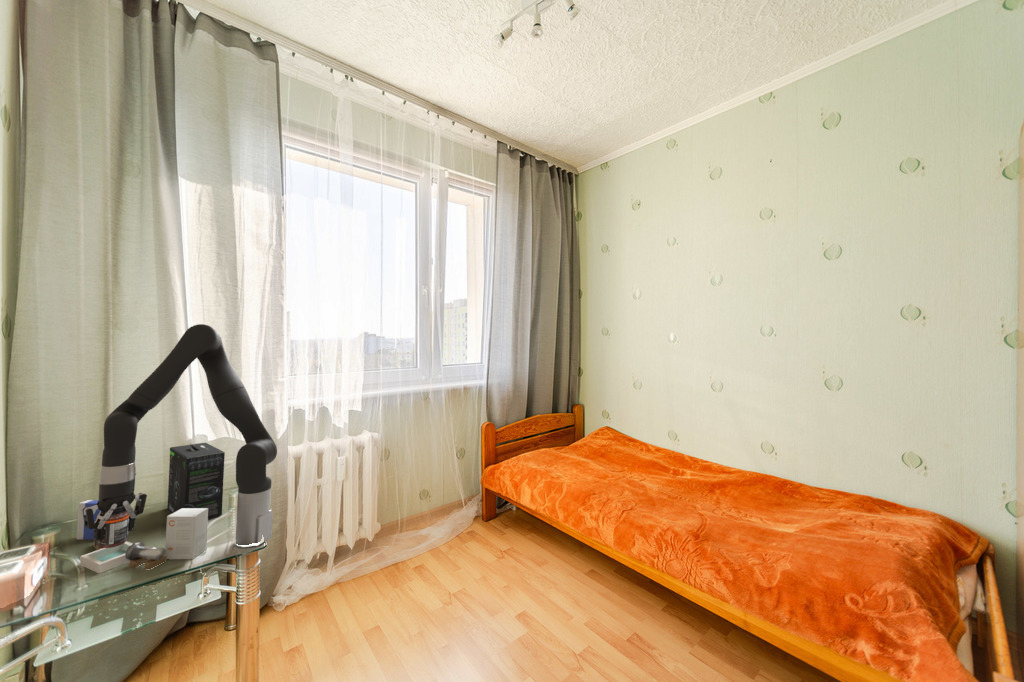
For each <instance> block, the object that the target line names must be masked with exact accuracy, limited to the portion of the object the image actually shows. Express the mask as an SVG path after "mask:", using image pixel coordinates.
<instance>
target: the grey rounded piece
mask: <svg viewBox="0 0 1024 682" xmlns="http://www.w3.org/2000/svg"><path fill="white" fill-rule="evenodd" d="M165 552H166V550H165V548H163V547H154V546H147V545H145V544H144V543H143V542H138V541H136V542H134V543H132V545H131V546H130V547H129V548H128V549H127V551H126V554H125V557H126V559H127V560H130V561H129V562H128V568H129V569H136V567H137V568H139V567H140V566H139V565H141V564H143V563H145V564H143V565H144V569H151V568H153V567H155V566H157V565H159V564H161V563H163V562H165V561H166V555H165ZM166 562H167V561H166ZM166 562H165V563H166ZM163 564H164V563H163ZM161 565H162V564H161ZM138 566H139V567H138ZM141 566H142V565H141ZM159 566H160V565H159ZM144 569H143V570H144Z"/></svg>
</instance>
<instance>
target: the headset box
mask: <svg viewBox="0 0 1024 682" xmlns="http://www.w3.org/2000/svg"><path fill="white" fill-rule="evenodd" d="M225 453H226V452H225V451H223V450H222V449H220V448H217V447H216V446H213V445H211V444H210V443H208V442H199V443H193V444H191V443H190V444H186V445H184V444H183V445H177V446H171V447H169V468H168V469H169V471H168V488H167V490H168V492H167V511H169V513H170V515H171V514H172V513H174V512H176V511H178V510H180V509H182V508H208V520H209V519H214V518H217V517H220V516H223V501H224V499H223V496H224V495H223V494H224V493H223V492H224V474H225Z"/></svg>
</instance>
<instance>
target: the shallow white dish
mask: <svg viewBox="0 0 1024 682" xmlns="http://www.w3.org/2000/svg"><path fill="white" fill-rule="evenodd" d="M132 544H133V543H132V542H131V541H128V540H127V541H126V542H125V543H124V544H122V545H119V546H116V547H112V548H102V549H99V550H97V551H96V550H94V551H92V552H89V553H86V554H82V555H80V558H79V559H80V560H79V561H80V562H79V563H80V564H79V565H80V566H82V567H84V568H86V569H88V570H91V571H92V572H94V573H97V574H102V573H103V572H106V571H109V570H112V569H114V568H116V567H119V566H122V565H124V564H127V563H129V561H130V560H127V559H126V557H125V554H126V551H127V549H128V548H129V547H130V546H131V545H132Z"/></svg>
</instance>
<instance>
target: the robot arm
mask: <svg viewBox="0 0 1024 682" xmlns="http://www.w3.org/2000/svg"><path fill="white" fill-rule="evenodd" d="M196 359H198V362H199V363H200V365H201V367H202V368H203V370H204V373H205V377H206V381H207V385H208V388H209V392H210V395H211V397H212V400H213V402H214V404H215V405H216V407H217V410H218V412H219V413H220V414H221V415H222V417H223V418H225V419H226V420H227V421H229V423H230V424H232V425H233V426H234V427H235V428H236V429H237V430H238V431H239V432H240V433H241V436H242V437H243V439H244V440H243V441H244V442H245V444H244V445H242V446H241V447H240V448H239V449H238V451H237V454H236V458H235V459H236V460H235V481H236V485H237V488H238V489H237V490H238V491H237V506H236V508H237V509H236V522H235V523H236V524H235V525H236V526H235V543H236V544H238V545H249V544H252V543H258V542H260V541H261V539H262V535H263V537H264V541H265V542H264V543H266V542H268V541H269V540H270V539H272V532H273V516H274V515H273V514H274V511H273V509H271V499H272V498H271V497H272V494H271V493H272V479H271V478H270V477H269V476H267V465H269V464H271V463H273V462H274V461H275V460H276V458H277V455H278V448H277V444H276V443H275V441H274V439H273V438H272V436H271V434H270V433H269V432H268V430H267V429H266V427H265V425H264V423H263V422H262V421H261V418H260V416H259V414H258V412H257V410H256V408H255V406H254V404H253V402H252V400H251V398H250V395H249V393H248V391H247V389H246V387H245V384H244V383H243V382H242V380H241V377H240V376H239V375H238V373H237V372H236V370H235V369H234V367H233V366H232V364H231V362H230V361H229V360H230V359H229V358H228V356H227V352H226V351H225V347H224V344H223V341H222V337H221V335H220V334H219V333H218V331H217V330H216V329H214V327H212V326H210V325H208V324H202V323H201V324H199V323H197V324H195V325H191V326H190V327H189V328H187V330H185V332H184V333H183V335H182V336H181V337H180V338H179V340H178V342H177V343H176V344H175V346H174V347H173V348H172V350H171V351H170V352H169V354H168V355H167V356H166V357H165V358H164V360H163V361H162V362H161V363H160V364H159V365H158V366H157V367H156V368H155V370H153V372H151V374H150V375H149V376H147V378H146V379H144V381H142V383H141V384H140V385H138V386H137V388H136V389H135V390H134V391H132V392H131V394H130V395H129V396H128V397H127V398H126V399H125V400H124V401H122V403H121V404H119V405H118V406H117V407H116V408H115V409H114V410H113V411H112V412H111V413H109V415H107V417H106V418H105V421H104V423H103V450H102V454H101V455H102V456H101V467H100V472H99V482H98V483H99V484H98V499H97V500H98V502H97V504H96V505H94V506H92V507H89V508H88V507H85V508H83V510H82V511H83V518H84V525H85V527H86V528H89V529H94V537H93V538H94V539H95V540H97V541H102V540H103V533H104V528H103V526H104V524H105V522H106V520H108V519H109V517H110V516H111V514H112V512H113V511H114V510H115V508H116V507H119V506H124V508H125V509H124V511H125V510H126V511H127V512H128V513H129V526H128V533H129V532H132V531H133V529H134V528H135V523H136V522H135V521H136V517H137V516H139V515H142V514H144V511H145V505H146V501H147V498H148V495H147V494H146V493H144V492H139V493H137V494H135V484H136V475H137V472H136V470H137V468H136V451H137V449H136V439H137V433H138V424H139V423H140V421H141V420H142V419H143V418H144V417H145V416H146V415H147V413H149V411H151V410H153V409H154V408H155V407H157V405H159V403H161V402H162V400H163V399H164V398H165V397H166V396H167V395H168V394H170V392H171V390H172V389H173V388H174V387H175V385H176V384H177V383H178V381H179V380H180V378H181V377H182V375H183V374H184V372H186V370H187V369H188V367H189V366H190V365H191V364H192V363H193V362H194V361H196ZM134 501H135V505H134V509H133V507H132V506H131V505H132V504H133V502H134ZM97 509H99V510H100V513H99V514H98V516H97V520H96V521H95V523H94V516H93V514H95V512H96V510H97ZM94 539H93V540H94Z"/></svg>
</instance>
